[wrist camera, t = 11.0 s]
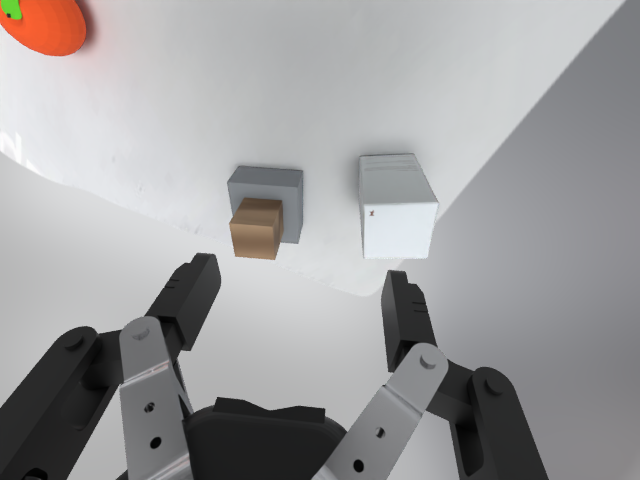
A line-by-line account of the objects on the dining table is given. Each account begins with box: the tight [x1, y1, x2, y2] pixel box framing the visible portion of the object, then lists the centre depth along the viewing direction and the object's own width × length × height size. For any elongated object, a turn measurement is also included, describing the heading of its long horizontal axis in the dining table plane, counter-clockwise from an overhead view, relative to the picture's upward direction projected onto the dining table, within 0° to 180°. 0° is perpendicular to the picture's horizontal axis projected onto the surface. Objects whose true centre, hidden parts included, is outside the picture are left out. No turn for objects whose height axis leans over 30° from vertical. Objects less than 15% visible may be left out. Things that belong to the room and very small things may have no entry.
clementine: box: [0, 0, 86, 56], centre depth 28 cm, size 8×7×7 cm
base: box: [227, 166, 303, 244], centre depth 41 cm, size 9×9×5 cm
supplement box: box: [359, 154, 439, 259], centre depth 35 cm, size 7×7×13 cm
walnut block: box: [229, 197, 284, 260], centre depth 37 cm, size 5×5×6 cm
